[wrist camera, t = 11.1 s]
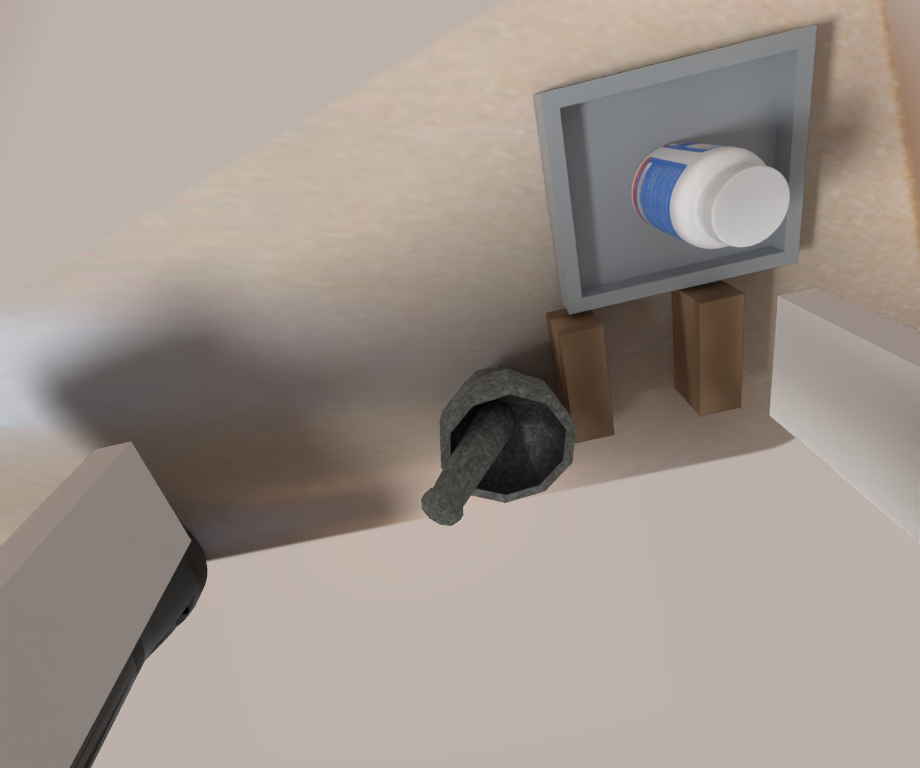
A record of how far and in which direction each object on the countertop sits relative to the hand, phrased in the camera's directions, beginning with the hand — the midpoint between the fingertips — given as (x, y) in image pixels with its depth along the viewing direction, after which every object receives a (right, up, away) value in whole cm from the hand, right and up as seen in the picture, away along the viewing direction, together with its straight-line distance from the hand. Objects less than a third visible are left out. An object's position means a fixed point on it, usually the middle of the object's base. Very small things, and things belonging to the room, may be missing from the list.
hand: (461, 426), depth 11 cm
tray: (+14, +15, +25) cm, 32 cm away
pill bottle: (+14, +14, +24) cm, 32 cm away
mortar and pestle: (+2, 0, +32) cm, 32 cm away
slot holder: (+14, +4, +31) cm, 34 cm away
